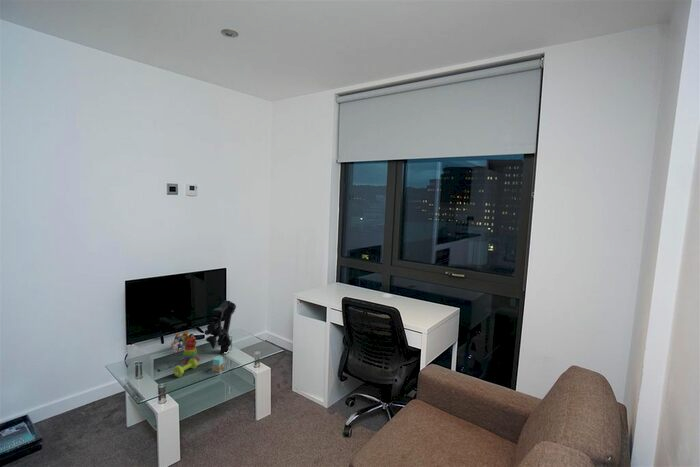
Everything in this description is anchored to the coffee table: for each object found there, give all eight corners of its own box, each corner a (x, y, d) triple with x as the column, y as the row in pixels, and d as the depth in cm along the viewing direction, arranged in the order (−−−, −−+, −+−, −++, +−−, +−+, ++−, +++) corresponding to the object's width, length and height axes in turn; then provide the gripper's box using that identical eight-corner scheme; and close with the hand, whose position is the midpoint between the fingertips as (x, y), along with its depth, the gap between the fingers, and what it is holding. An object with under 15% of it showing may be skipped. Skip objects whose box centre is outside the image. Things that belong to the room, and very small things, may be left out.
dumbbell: (191, 365, 258) (191, 356, 257) (199, 368, 255) (199, 358, 254) (171, 375, 244) (171, 366, 242) (180, 379, 240) (180, 369, 239)
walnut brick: (216, 367, 257) (216, 361, 256) (224, 368, 256) (224, 362, 255) (211, 371, 251) (212, 365, 251) (219, 372, 250) (219, 366, 250)
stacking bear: (192, 365, 258) (192, 342, 255) (179, 363, 260) (179, 340, 257) (201, 358, 268) (201, 336, 266) (189, 356, 270) (189, 334, 268)
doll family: (172, 355, 270) (172, 339, 269) (164, 351, 275) (164, 335, 273) (196, 345, 289) (196, 330, 287) (188, 342, 293) (189, 327, 292)
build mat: (215, 366, 259) (215, 365, 259) (228, 368, 258) (228, 367, 258) (207, 373, 250) (207, 372, 250) (220, 375, 248) (220, 374, 248)
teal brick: (216, 361, 256) (216, 356, 255) (223, 362, 255) (223, 357, 254) (213, 365, 251) (213, 359, 250) (219, 366, 250) (219, 360, 250)
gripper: (214, 320, 272) (213, 339, 275) (199, 329, 254) (199, 349, 256) (227, 322, 270) (226, 341, 273) (213, 331, 252) (213, 352, 254)
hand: (216, 345), depth 264 cm, fingers open, 9 cm apart
